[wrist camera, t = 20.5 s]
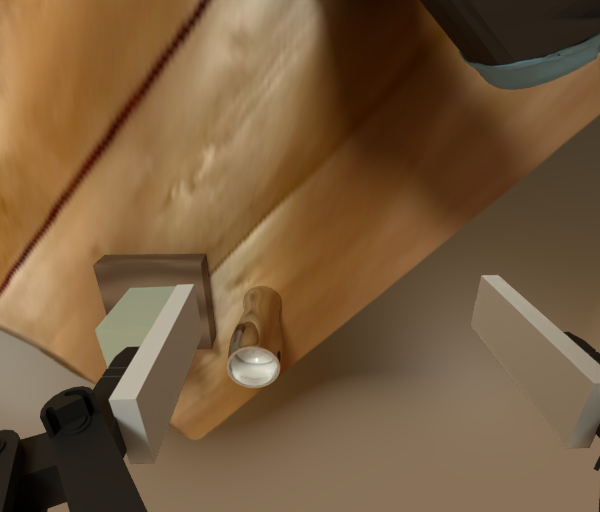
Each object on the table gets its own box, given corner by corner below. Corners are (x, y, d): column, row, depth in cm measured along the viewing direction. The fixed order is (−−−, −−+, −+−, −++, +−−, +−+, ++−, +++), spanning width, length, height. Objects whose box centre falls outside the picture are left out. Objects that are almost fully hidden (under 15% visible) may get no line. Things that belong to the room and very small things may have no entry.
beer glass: (250, 276, 55) (237, 337, 41) (291, 293, 56) (291, 357, 43) (234, 310, 57) (216, 378, 44) (273, 326, 59) (267, 396, 45)
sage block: (129, 288, 51) (94, 329, 42) (178, 286, 51) (153, 327, 42) (140, 327, 54) (109, 374, 45) (186, 326, 54) (164, 372, 45)
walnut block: (106, 253, 53) (93, 265, 50) (206, 252, 54) (200, 263, 50) (127, 334, 60) (116, 350, 56) (216, 333, 60) (211, 348, 56)
